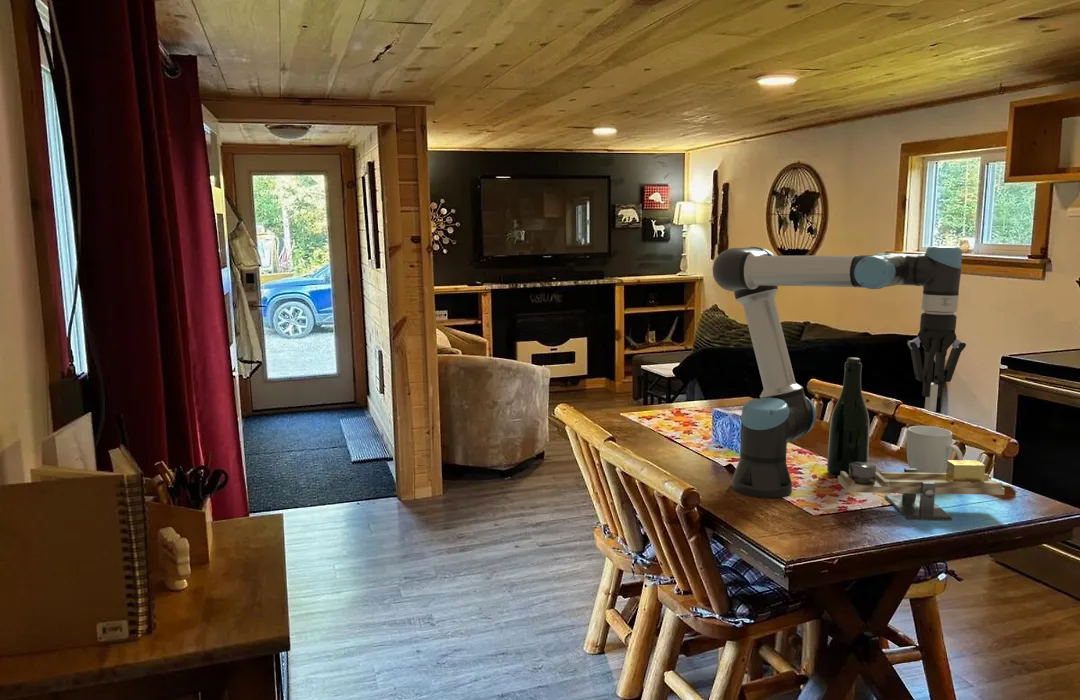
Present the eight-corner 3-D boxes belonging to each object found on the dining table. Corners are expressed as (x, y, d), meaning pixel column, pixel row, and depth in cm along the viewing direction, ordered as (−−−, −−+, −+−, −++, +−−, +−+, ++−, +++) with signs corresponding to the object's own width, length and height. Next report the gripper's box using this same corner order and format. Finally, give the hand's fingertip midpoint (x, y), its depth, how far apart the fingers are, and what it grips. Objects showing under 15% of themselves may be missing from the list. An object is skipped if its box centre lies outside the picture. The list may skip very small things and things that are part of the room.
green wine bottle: (836, 466, 223) (843, 353, 218) (873, 474, 216) (881, 357, 211) (820, 474, 216) (826, 357, 211) (857, 483, 208) (864, 362, 203)
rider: (953, 485, 186) (954, 465, 185) (945, 479, 190) (947, 460, 189) (983, 485, 185) (985, 465, 184) (975, 480, 189) (977, 460, 188)
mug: (971, 481, 209) (975, 434, 207) (949, 489, 203) (952, 441, 201) (918, 467, 221) (921, 423, 219) (896, 474, 215) (899, 429, 213)
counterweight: (852, 484, 187) (853, 469, 186) (845, 477, 193) (846, 461, 192) (878, 485, 186) (879, 469, 186) (870, 477, 192) (871, 462, 192)
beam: (847, 492, 186) (848, 480, 186) (837, 481, 194) (838, 470, 194) (1004, 494, 183) (1005, 483, 183) (987, 483, 191) (988, 472, 191)
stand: (907, 519, 182) (910, 485, 181) (885, 497, 197) (887, 465, 196) (951, 520, 182) (954, 486, 180) (925, 498, 196) (928, 466, 195)
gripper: (916, 313, 179) (908, 413, 183) (975, 314, 178) (965, 414, 182) (904, 310, 186) (896, 405, 190) (960, 311, 185) (951, 407, 189)
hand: (930, 410), depth 186 cm, fingers closed
